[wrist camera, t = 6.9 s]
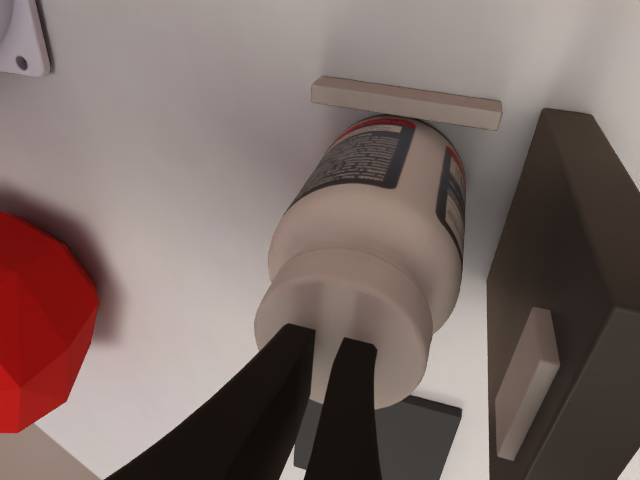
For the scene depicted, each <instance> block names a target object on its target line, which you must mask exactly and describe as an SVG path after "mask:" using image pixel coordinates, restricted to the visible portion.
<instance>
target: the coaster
mask: <svg viewBox="0 0 640 480" xmlns="http://www.w3.org/2000/svg"><path fill="white" fill-rule="evenodd" d="M322 406H323V404H322V403H319V402H316V401H313V400H311V399H309V401H308V404H307V407H306V411H305V414H304V417H303V420H302V423H301V426H300V429H299V432H298V436H297V439H296V441H295V450H294V466H295V467H299V468H302V469H305V470H307V467H308V463H309V460H310V456H311V453H312V448H313V444H314V440H315V436H316V432H317V427H318V423H319V419H320V415H321V410H322ZM461 417H462V410H461V409H457V408H453V407H450V406H446V405H442V404H438V403H435V402H431V401H427V400H423V399H419V398H416V397H412V396H407V397H406V398H404V399H403V400H401V401H400V402H398V403H395V404H393V405H391V406H388V407H385V408H380V409H375V422H376V433H377V444H378V453H379V460H380V468H381V474H382V480H439V479H440V476H441V473H442V470H443V468H444V465H445V462H446V459H447V456H448V454H449V451H450V448H451V445H452V443H453V440H454V437H455V434H456V431H457V429H458V426H459V423H460V420H461Z"/></svg>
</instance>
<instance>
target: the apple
mask: <svg viewBox="0 0 640 480" xmlns="http://www.w3.org/2000/svg"><path fill="white" fill-rule="evenodd" d="M98 304H99V302H98V297H97V292H96V288H95V283H94V282H93V280H92V279H91V278H90V276H89V275H88V274H87V272H86V271H85V270H84V268H83V267H82V266H81V264H80V263H79V262H78V260H77V259H76V258H75V256H74V255H73V254H72V252H71V251H70V250H69V248H68V247H67V245H66V244H64V243H63V242H61V241H59V240H58V239H56V238H54V237H53V236H51V235H49V234H48V233H46V232H44V231H43V230H41V229H39V228H38V227H36V226H34V225H33V224H31V223H29V222H28V221H26V220H24V219H23V218H20V217H17V216H14V215H11V214H8V213H5V212H1V211H0V433H18V432H20V431H22V430H23V429H25V428H26V427H28V426H29V425H31V424H33V423H34V422H36V421H37V420H39V419H40V418H42V417H43V416H45V415H46V414H48V413H49V412H51V411H53V410H54V409H56V408H57V407H59V406H60V405H62V404H63V403H65V402H66V401H67V399H68V397H69V394H70V392H71V389H72V387H73V385H74V382H75V380H76V377H77V375H78V373H79V370H80V368H81V366H82V363H83V361H84V358H85V356H86V354H87V351H88V349H89V346H90V344H91V339H92V334H93V329H94V324H95V319H96V314H97V309H98Z"/></svg>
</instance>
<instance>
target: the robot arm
mask: <svg viewBox="0 0 640 480" xmlns="http://www.w3.org/2000/svg"><path fill="white" fill-rule="evenodd" d="M24 59H25V60H26V62H27V64H28V66H27V65H26V64H25V61H24ZM0 72H6V73H12V74H18V75H25V76H31V77H43V76H46V75H47V74H49V72H50V63H49V58H48V54H47V50H46V45H45V41H44V37H43V32H42V28H41V24H40V19H39V15H38V11H37V7H36V2H35V0H0ZM315 334H316V330H315V329H311V328H307V327H303V326H298V325H294V324H290V323H287V324H285V325H284V326H282V328H281V329H280V330H279V331H278V332H277V333H276V334H275V335H274V337H273V338H272V339H271V340H270V341H269V342H268V343H267V344H266V345H265V346H264V347H263V348H262V349H261V350H260V351H259V352H258V354H257V355H256V356H255V357H254V358H253V359H252V360H251V361H250V362H249V363H248V364H247V365H246V366H245V367H244V368H243V369H241V370H240V371H239V372H238V373H237V374H236V375H235V376H234V377H233V378H232V379H231V380H230V381H229V382H228V383H227V384H225V385H224V386H223V387H222V388H221V389H220V390H219V391H218V392H217V393H216V394H215V395H214V396H212V397H211V398H210V399H209V400H208V401H207V402H205V403H204V404H203V405H202V406H201V407H200V408H198V409H197V410H196V411H195V412H194V413H192V414H191V415H190V416H189V417H188V418H187V419H185V420H184V421H183V422H182V423H181V424H179V425H178V426H177V427H176V428H174V429H173V430H172V431H171V432H169V433H168V434H167V435H166V436H164V437H163V438H162V439H160V440H159V441H158V442H156V443H155V444H154V445H153V446H151V447H150V448H148V449H147V450H146V451H144V452H143V453H142V454H140V455H139V456H137V457H136V458H135V459H133V460H132V461H131V462H129V463H128V464H126V465H125V466H123V467H122V468H120V469H119V470H118V471H116V472H115V473H113V474H112V475H110V476H109V477H107V478H106V479H104V480H279V478H280V476H281V474H282V471H283V469H284V467H285V464H286V462H287V460H288V457H289V455H290V453H291V451H292V448H293V446H294V444H295V441H296V439H297V436H298V432H299V429H300V426H301V423H302V420H303V417H304V414H305V411H306V407H307V404H308V401H309V398H310V394H311V382H312V370H313V358H314V346H315ZM377 351H378V349H377V348H376V347H375V346H374V344H371V343H367V342H363V341H359V340H355V339H351V338H347V337H344V338H343V341H342V343H341V345H340V347H339V350H338V352H337V354H336V357H335V359H334V362H333V365H332V369H331V373H330V377H329V381H328V385H327V389H326V394H325V398H324V402H323V406H322V410H321V415H320V419H319V423H318V427H317V432H316V436H315V440H314V444H313V448H312V453H311V456H310V460H309V463H308V467H307V470H306V474H305V477H304V480H382V474H381V468H380V460H379V453H378V444H377V433H376V422H375V408H374V371H375V362H376V357H377Z"/></svg>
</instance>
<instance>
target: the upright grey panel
mask: <svg viewBox="0 0 640 480" xmlns="http://www.w3.org/2000/svg"><path fill="white" fill-rule="evenodd" d="M311 102H313V103H319V104H326V105H332V106H338V107H345V108H351V109H358V110H364V111H371V112H377V113H384V114H390V115H397V116H403V117H409V118H416V119H422V120H429V121H435V122H442V123H448V124H455V125H461V126H468V127H474V128H481V129H487V130H493V131H497V130H498V128H499V124H500V121H501V117H502V105H501V102H500V101H493V100H486V99H479V98H472V97H465V96H458V95H451V94H444V93H437V92H430V91H423V90H416V89H409V88H402V87H395V86H388V85H381V84H374V83H367V82H360V81H354V80H347V79H340V78H333V77H326V76H321V77H320V78H319V79H318V80H317V81H315V82H314V83H313V84H312V88H311ZM487 340H488V406H489V472H490V480H617V478H618V477H619V476H620V474H621V473H622V471H623V470H624V469H625V467H626V466H627V464H628V463H629V462H630V460H631V459H632V457H633V456H634V455H635V453H636V452H637V450H638V449H639V448H640V192H639V190H638V189H637V187H636V185H635V184H634V182H633V181H632V179H631V177H630V176H629V174H628V172H627V171H626V169H625V167H624V166H623V164H622V163H621V161H620V159H619V158H618V156H617V154H616V153H615V151H614V150H613V148H612V146H611V145H610V143H609V141H608V140H607V138H606V137H605V135H604V133H603V132H602V130H601V128H600V127H599V125H598V124H597V122H596V120H595V119H594V117H593V116H592V115H588V114H581V113H574V112H567V111H560V110H553V109H543V110H542V112H541V115H540V119H539V122H538V125H537V128H536V131H535V134H534V137H533V140H532V143H531V146H530V149H529V152H528V156H527V159H526V162H525V165H524V168H523V171H522V174H521V177H520V180H519V183H518V186H517V189H516V193H515V196H514V199H513V202H512V205H511V208H510V211H509V214H508V217H507V220H506V223H505V226H504V229H503V233H502V236H501V239H500V242H499V245H498V248H497V251H496V254H495V257H494V260H493V263H492V266H491V270H490V273H489V276H488V279H487Z"/></svg>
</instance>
